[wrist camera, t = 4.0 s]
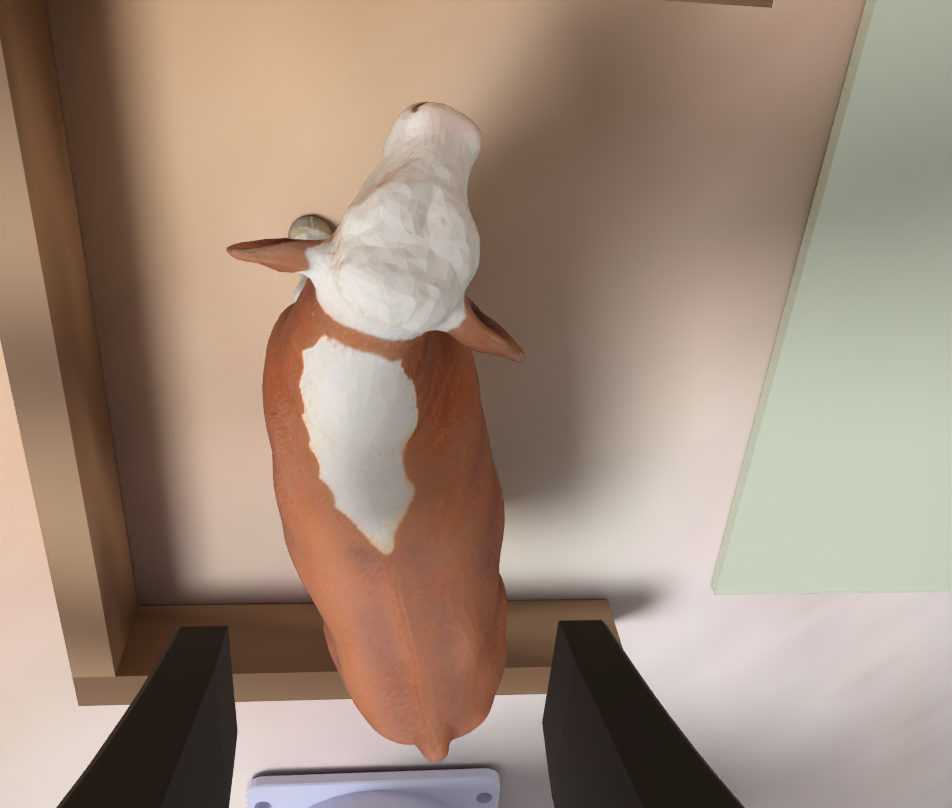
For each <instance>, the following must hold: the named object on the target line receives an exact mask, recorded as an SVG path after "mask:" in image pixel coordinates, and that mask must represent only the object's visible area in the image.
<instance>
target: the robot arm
mask: <svg viewBox="0 0 952 808" xmlns="http://www.w3.org/2000/svg"><path fill="white" fill-rule="evenodd" d="M542 724H543V732H544V740H545V748H546V756H547V764H548V771H549V778H550V785H551V792H552V798H553V802H554V806H555V808H745V807H744V806H743V805H742V804H741V803H740V802H739V801H738V800H737V798H736V797H735V796H734V795H733V794H732V793H731V791H730V790H729V789H728V788H727V787H726V786H725V784H724V783H723V782H722V781H721V780H720V779H719V777H718V776H717V775H716V774H715V773H714V771H713V770H712V769H711V768H710V766H709V765H708V764H707V763H706V762H705V760H704V759H703V758H702V757H701V755H700V754H699V753H698V752H697V750H696V749H695V748H694V747H693V745H692V744H691V743H690V741H689V740H688V739H687V737H686V736H685V735H684V734H683V732H682V731H681V730H680V728H679V727H678V726H677V725H676V723H675V722H674V721H673V719H672V718H671V717H670V715H669V714H668V713H667V711H666V710H665V709H664V707H663V706H662V705H661V703H660V702H659V701H658V699H657V698H656V696H655V695H654V694H653V692H652V691H651V689H650V688H649V686H648V685H647V684H646V682H645V681H644V679H643V678H642V677H641V675H640V674H639V672H638V671H637V669H636V668H635V666H634V665H633V664H632V662H631V661H630V659H629V658H628V656H627V655H626V653H625V652H624V650H623V649H622V647H621V646H620V644H619V643H618V641H617V640H616V638H615V636H614V635H613V633H612V632H611V630H610V629H609V627H608V626H607V625H606V624H605V623H604V622H603V621H602V620H564V621H558V627H557V633H556V640H555V646H554V652H553V658H552V665H551V671H550V677H549V684H548V690H547V696H546V703H545V709H544V715H543V721H542ZM236 740H237V721H236V710H235V698H234V687H233V676H232V664H231V653H230V642H229V630H228V626H188V627H180V628H179V629H177V630H176V631H175V632H174V633H173V634H172V636H171V638H170V639H169V641H168V643H167V645H166V647H165V649H164V650H163V652H162V654H161V656H160V657H159V659H158V661H157V663H156V664H155V666H154V668H153V669H152V671H151V673H150V674H149V676H148V678H147V679H146V681H145V682H144V684H143V686H142V687H141V689H140V690H139V692H138V694H137V695H136V697H135V698H134V700H133V701H132V703H131V704H130V706H129V708H128V709H127V711H126V712H125V714H124V715H123V717H122V718H121V720H120V721H119V722H118V724H117V725H116V727H115V728H114V730H113V731H112V733H111V734H110V735H109V737H108V738H107V740H106V741H105V743H104V744H103V746H102V747H101V748H100V750H99V751H98V753H97V754H96V756H95V757H94V759H93V760H92V761H91V763H90V764H89V766H88V767H87V768H86V770H85V771H84V772H83V774H82V775H81V776H80V778H79V779H78V780H77V782H76V783H75V784H74V785H73V787H72V788H71V789H70V791H69V792H68V793H67V795H66V796H65V797H64V798H63V800H62V801H61V802H60V804H59V805H58V806H57V808H229V801H230V793H231V785H232V777H233V768H234V759H235V750H236ZM499 794H500V779H499V774H498V773H497V772H496V771H494V770H492V769H488V768H477V769H449V770H421V771H393V772H365V773H337V774H309V775H281V776H261V777H257V778H255V779H252V780H251V781H250V782H249V783H248V787H247V793H246V800H247V808H498V801H499Z"/></svg>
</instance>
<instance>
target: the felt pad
mask: <svg viewBox="0 0 952 808" xmlns="http://www.w3.org/2000/svg"><path fill="white" fill-rule="evenodd" d="M711 587H712V589H713V591H714V593H715V595H738V594H817V593H896V592H952V0H866V3H865V6H864V10H863V14H862V18H861V21H860V25H859V29H858V33H857V37H856V40H855V44H854V48H853V52H852V55H851V59H850V63H849V67H848V70H847V74H846V78H845V82H844V85H843V89H842V93H841V97H840V100H839V104H838V108H837V112H836V116H835V119H834V123H833V127H832V131H831V134H830V138H829V142H828V146H827V149H826V153H825V157H824V161H823V164H822V168H821V172H820V176H819V180H818V183H817V187H816V191H815V195H814V198H813V202H812V206H811V210H810V213H809V217H808V221H807V225H806V228H805V232H804V236H803V240H802V243H801V247H800V251H799V255H798V259H797V262H796V266H795V270H794V274H793V277H792V281H791V285H790V289H789V292H788V296H787V300H786V304H785V307H784V311H783V315H782V319H781V322H780V326H779V330H778V334H777V338H776V341H775V345H774V349H773V353H772V356H771V360H770V364H769V368H768V371H767V375H766V379H765V383H764V386H763V390H762V394H761V398H760V402H759V405H758V409H757V413H756V417H755V420H754V424H753V428H752V432H751V435H750V439H749V443H748V447H747V450H746V454H745V458H744V462H743V465H742V469H741V473H740V477H739V481H738V484H737V488H736V492H735V496H734V499H733V503H732V507H731V511H730V514H729V518H728V522H727V526H726V529H725V533H724V537H723V541H722V545H721V548H720V552H719V556H718V560H717V563H716V567H715V571H714V575H713V578H712V582H711Z"/></svg>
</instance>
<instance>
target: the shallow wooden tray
mask: <svg viewBox="0 0 952 808" xmlns="http://www.w3.org/2000/svg"><path fill="white" fill-rule="evenodd" d="M670 1H684V2H698V3H713V4H727V5H741V6H755V7H770V8H772V4H773V0H670ZM0 340H1V344H2V349H3V354H4V358H5V363H6V368H7V372H8V377H9V382H10V386H11V391H12V396H13V400H14V405H15V410H16V414H17V419H18V424H19V429H20V433H21V438H22V443H23V447H24V452H25V457H26V461H27V466H28V471H29V475H30V480H31V485H32V489H33V494H34V499H35V503H36V508H37V513H38V518H39V522H40V527H41V532H42V536H43V541H44V546H45V550H46V555H47V560H48V564H49V569H50V574H51V578H52V583H53V588H54V592H55V597H56V602H57V607H58V611H59V616H60V621H61V625H62V630H63V635H64V639H65V644H66V649H67V653H68V658H69V663H70V667H71V672H72V677H73V681H74V686H75V691H76V696H77V700H78V705H79V706H95V705H130V704H131V703H132V701H133V700H134V698H135V697H136V695H137V694H138V692H139V690H140V689H141V687H142V686H143V684H144V682H145V681H146V679H147V678H148V676H149V674H150V673H151V671H152V669H153V668H154V666H155V664H156V663H157V661H158V659H159V657H160V656H161V654H162V652H163V650H164V649H165V647H166V645H167V643H168V641H169V639H170V638H171V636H172V634H173V633H174V632H175V631H176V630H177V629H179V628H180V627H188V626H228V630H229V642H230V653H231V664H232V676H233V687H234V698H235V702H249V701H288V700H326V699H352V698H351V696H350V694H349V692H348V691H347V689H346V687H345V685H344V683H343V680H342V678H341V676H340V674H339V672H338V670H337V668H336V666H335V664H334V662H333V659H332V657H331V654H330V652H329V649H328V645H327V642H326V638H325V634H324V629H323V618H322V616H321V614H320V612H319V611H318V609H317V607H316V605H315V604H242V605H167V606H138V602H137V595H136V589H135V582H134V576H133V569H132V563H131V556H130V550H129V543H128V537H127V530H126V524H125V517H124V511H123V504H122V498H121V491H120V485H119V478H118V472H117V465H116V459H115V452H114V446H113V439H112V433H111V426H110V420H109V413H108V407H107V400H106V394H105V387H104V381H103V374H102V368H101V361H100V355H99V348H98V342H97V335H96V329H95V322H94V316H93V309H92V303H91V296H90V290H89V283H88V277H87V270H86V264H85V257H84V251H83V244H82V238H81V231H80V225H79V218H78V212H77V205H76V199H75V192H74V186H73V179H72V173H71V166H70V160H69V153H68V147H67V140H66V134H65V127H64V121H63V114H62V108H61V101H60V95H59V88H58V82H57V75H56V69H55V62H54V56H53V49H52V43H51V36H50V30H49V23H48V17H47V10H46V4H45V0H0ZM564 620H602V621H603V622H604V623H605V624H606V625H607V626H608V627H609V629H610V630H611V632H612V633H613V635H614V636H615V638H616V640H617V641H618V643H619V644H620V646H621V647H622V645H621V642H620V638H619V635H618V632H617V629H616V626H615V623H614V620H613V617H612V614H611V611H610V608H609V604H608V601H607V600H546V601H507V620H506V639H505V640H506V650H507V656H506V666H505V670H504V673H503V677H502V679H501V682H500V685H499V687H498V689H497V692H496V694H495V695H519V694H547V690H548V684H549V677H550V671H551V665H552V658H553V652H554V646H555V640H556V633H557V627H558V621H564ZM622 649H623V648H622Z"/></svg>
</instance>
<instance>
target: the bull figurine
mask: <svg viewBox="0 0 952 808" xmlns="http://www.w3.org/2000/svg"><path fill="white" fill-rule="evenodd" d="M481 145H482V143H481V132H480V129H479V127H478V126H477V125H476V124H475V123H474V122H473V121H472V120H471V119H469V118H468V117H467V116H465V115H464V114H462V113H460V112H458V111H457V110H455V109H453V108H451V107H449V106H447V105H444V104H440V103H435V102H421V103H416V104H413V105H411V106H409V107H407V108H406V109H405V110H404V111H403V112H402V113H401V114H400V116H399V117H398V118H397V120H396V122H395V123H394V125H393V127H392V128H391V130H390V132H389V134H388V136H387V139H386V141H385V147H384V153H383V157H382V159H381V161H380V163H379V164H378V165H377V167H376V168H375V169H374V171H373V172H372V173H371V175H370V176H369V178H368V179H367V180H366V182H365V183H364V184H363V186H362V188H361V189H360V191H359V193H358V195H357V196H356V198H355V199H354V201H353V202H352V203H351V205H350V206H349V208H348V209H347V211H346V212H345V214H344V216H343V218H342V220H341V222H340V224H339V226H338V227H337V229H336V230H335V232H334V233H333V231H332V229H331V228H330V226H329V225H328V224H327V223H326V222H325V221H323V220H321V219H319V218H316V217H314V216H306V217H301V218H299V219H297V220H296V221H294V222H293V223H292V225H291V227H290V230H289V234H288V238H280V239H263V240H257V241H250V242H241V243H237V244H234V245H231V246H229V247H227V250H226V251H227V252H228V253H229V254H230V255H231V256H233V257H234V258H236V259H239V260H243V261H247V262H254V263H259V264H261V265H264V266H267V267H269V268H272V269H274V270H277V271H279V272H291V273H299V274H300V276H301V281H300V282H299V284H298V286H297V287H296V289H295V291H294V295H293V304H292V305H290V306H289V307H287V308H286V309H285V310H284V311H283V312H282V313H281V315H280V316H279V318H278V320H277V322H276V323H275V325H274V327H273V330H272V332H271V335H270V338H269V341H268V345H267V351H266V358H265V365H264V372H263V386H262V389H263V406H264V414H265V421H266V427H267V432H268V436H269V440H270V444H271V449H272V457H273V481H274V489H275V495H276V500H277V505H278V508H279V512H280V516H281V520H282V524H283V531H284V537H285V541H286V545H287V548H288V551H289V554H290V557H291V559H292V561H293V564H294V566H295V568H296V570H297V572H298V575H299V577H300V579H301V580H302V582H303V584H304V586H305V588H306V589H307V591H308V593H309V595H310V596H311V598H312V600H313V602H314V604H315V605H316V607H317V609H318V611H319V612H320V614H321V616H322V618H323V629H324V634H325V638H326V642H327V645H328V649H329V652H330V654H331V657H332V659H333V662H334V664H335V666H336V668H337V670H338V672H339V674H340V676H341V678H342V680H343V683H344V685H345V687H346V689H347V691H348V692H349V694H350V696H351V698H352V700H353V702H354V704H355V705H356V707H357V708H358V710H359V711H360V713H361V714H362V715H363V716H364V718H365V719H366V720H367V722H368V723H369V724H370V725H371V726H372V728H373V729H374V730H375V731H377V732H378V733H379V734H380V735H382V736H383V737H385V738H387V739H388V740H391V741H394V742H396V743H400V744H407V745H415V746H416V747H418V749H419V750H420V751H421V753H422V754H423V755H424V757H425V758H426V759H427V760H429V761H431V762H439V761H441V760H443V759H444V758H445V757H446V756H447V754H448V751H449V744H450V742H451V740H453V739H456V738H458V737H461V736H464V735H466V734H468V733H470V732H471V731H472V730H474V729H475V728H476V727H478V726H479V725H480V724H481V723H482V722H483V721H484V720H485V719H486V717H487V716H488V714H489V712H490V709H491V707H492V704H493V700H494V697H495V694H496V692H497V689H498V687H499V685H500V682H501V679H502V677H503V673H504V670H505V666H506V656H507V650H506V640H505V639H506V620H507V596H506V591H505V587H504V584H503V580H502V577H501V575H500V573H499V561H500V552H501V547H502V541H503V533H504V502H503V495H502V489H501V486H500V482H499V478H498V475H497V471H496V468H495V465H494V463H493V460H492V455H491V449H490V444H489V438H488V432H487V426H486V421H485V417H484V413H483V409H482V406H481V398H480V389H479V380H478V376H477V371H476V367H475V362H474V358H473V354H472V351H471V349H474V350H476V351H479V352H483V353H489V354H494V355H499V356H502V357H505V358H508V359H510V360H512V361H514V362H518V363H519V362H522V361H525V354H524V352H523V350H522V348H521V347H520V346H519V345H517V343H516V342H515V341H514V340H513V339H512V337H511V336H510V335H509V334H508V333H507V332H506V331H505V330H504V329H503V328H502V327H501V326H500V325H498V324H497V323H496V322H495V321H493V320H492V319H490V318H489V317H487V316H486V315H484V314H483V313H482V312H481V311H480V310H479V309H478V307H477V306H476V305H475V304H474V303H473V302H472V301H471V300H470V299H469V298H467V297H466V295H465V291H466V289H467V287H468V285H469V284H470V282H471V280H472V279H473V277H474V275H475V274H476V272H477V270H478V267H479V259H480V237H479V233H478V230H477V227H476V225H475V222H474V220H473V217H472V215H471V212H470V209H469V206H468V197H467V187H468V179H469V176H470V174H471V171H472V168H473V166H474V163H475V161H476V159H477V157H478V156H479V152H480V149H481Z"/></svg>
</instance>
